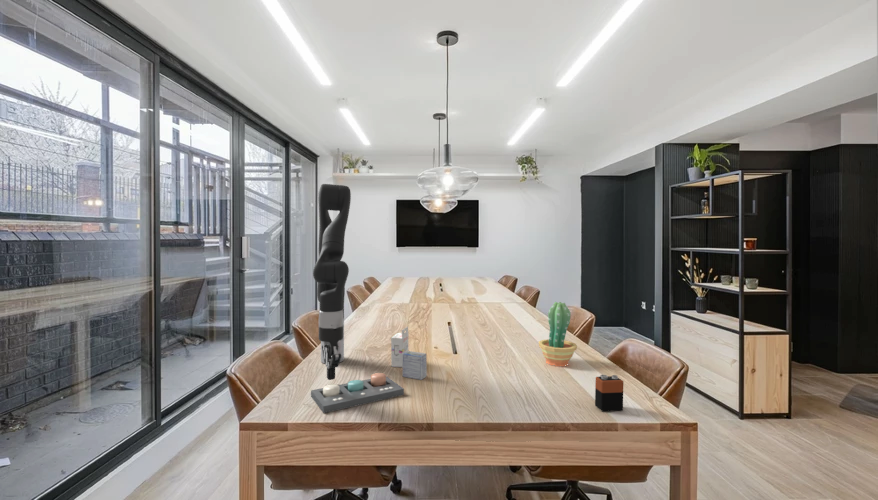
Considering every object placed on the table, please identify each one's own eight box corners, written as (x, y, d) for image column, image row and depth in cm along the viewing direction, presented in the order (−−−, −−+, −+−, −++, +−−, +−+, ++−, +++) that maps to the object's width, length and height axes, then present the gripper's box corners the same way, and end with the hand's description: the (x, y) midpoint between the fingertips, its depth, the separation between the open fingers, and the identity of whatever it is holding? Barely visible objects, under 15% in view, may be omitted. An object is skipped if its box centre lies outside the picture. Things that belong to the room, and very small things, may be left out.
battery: (594, 405, 120) (595, 373, 119) (615, 405, 120) (616, 372, 120) (601, 412, 115) (602, 378, 115) (623, 411, 116) (624, 377, 116)
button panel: (311, 396, 125) (311, 389, 125) (385, 381, 139) (385, 375, 139) (323, 413, 113) (323, 405, 113) (403, 394, 127) (404, 388, 127)
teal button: (345, 390, 128) (345, 381, 128) (360, 387, 131) (360, 378, 131) (350, 396, 124) (350, 386, 124) (365, 392, 127) (365, 383, 127)
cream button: (321, 395, 124) (321, 386, 124) (336, 392, 127) (336, 383, 127) (325, 401, 120) (325, 391, 120) (341, 398, 122) (341, 388, 122)
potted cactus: (584, 364, 159) (586, 303, 158) (560, 371, 150) (561, 306, 150) (554, 355, 172) (555, 298, 171) (529, 361, 163) (530, 301, 163)
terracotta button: (368, 383, 133) (368, 374, 132) (382, 380, 135) (382, 372, 135) (374, 388, 128) (374, 379, 128) (388, 385, 131) (388, 376, 131)
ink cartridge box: (397, 360, 163) (397, 325, 163) (408, 361, 162) (408, 325, 162) (390, 366, 155) (390, 329, 154) (402, 367, 154) (402, 330, 153)
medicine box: (426, 376, 144) (427, 353, 144) (421, 380, 140) (421, 356, 140) (408, 373, 147) (408, 350, 147) (402, 377, 143) (402, 353, 143)
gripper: (313, 321, 126) (313, 374, 127) (325, 330, 115) (325, 388, 116) (336, 319, 130) (336, 370, 131) (349, 327, 119) (349, 383, 120)
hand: (331, 378), depth 123 cm, fingers closed
